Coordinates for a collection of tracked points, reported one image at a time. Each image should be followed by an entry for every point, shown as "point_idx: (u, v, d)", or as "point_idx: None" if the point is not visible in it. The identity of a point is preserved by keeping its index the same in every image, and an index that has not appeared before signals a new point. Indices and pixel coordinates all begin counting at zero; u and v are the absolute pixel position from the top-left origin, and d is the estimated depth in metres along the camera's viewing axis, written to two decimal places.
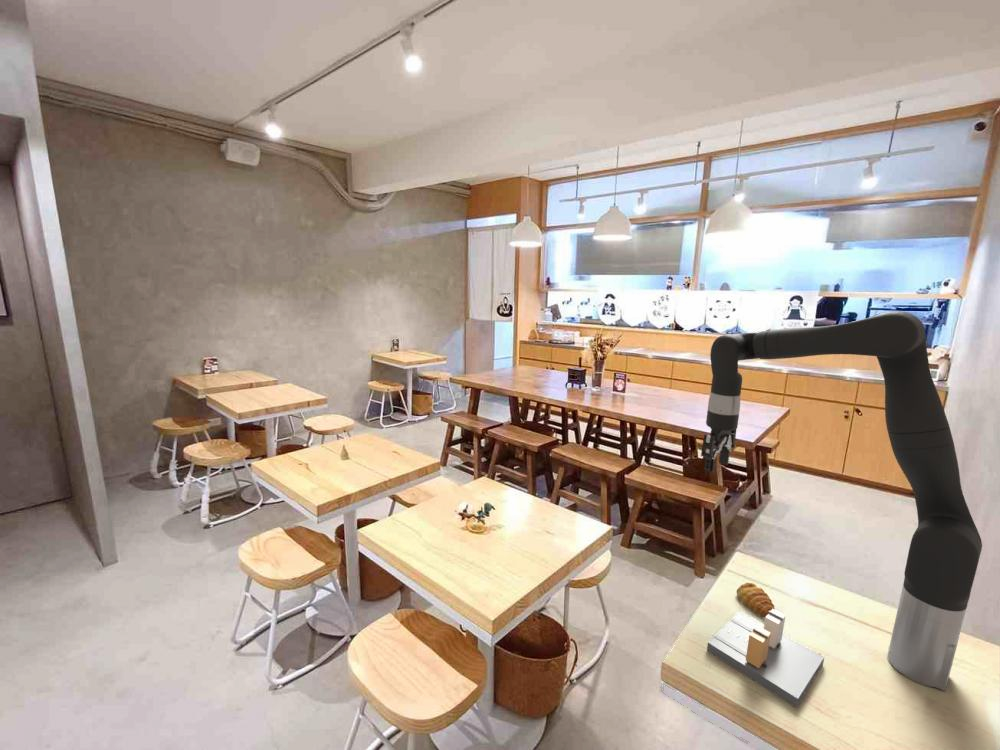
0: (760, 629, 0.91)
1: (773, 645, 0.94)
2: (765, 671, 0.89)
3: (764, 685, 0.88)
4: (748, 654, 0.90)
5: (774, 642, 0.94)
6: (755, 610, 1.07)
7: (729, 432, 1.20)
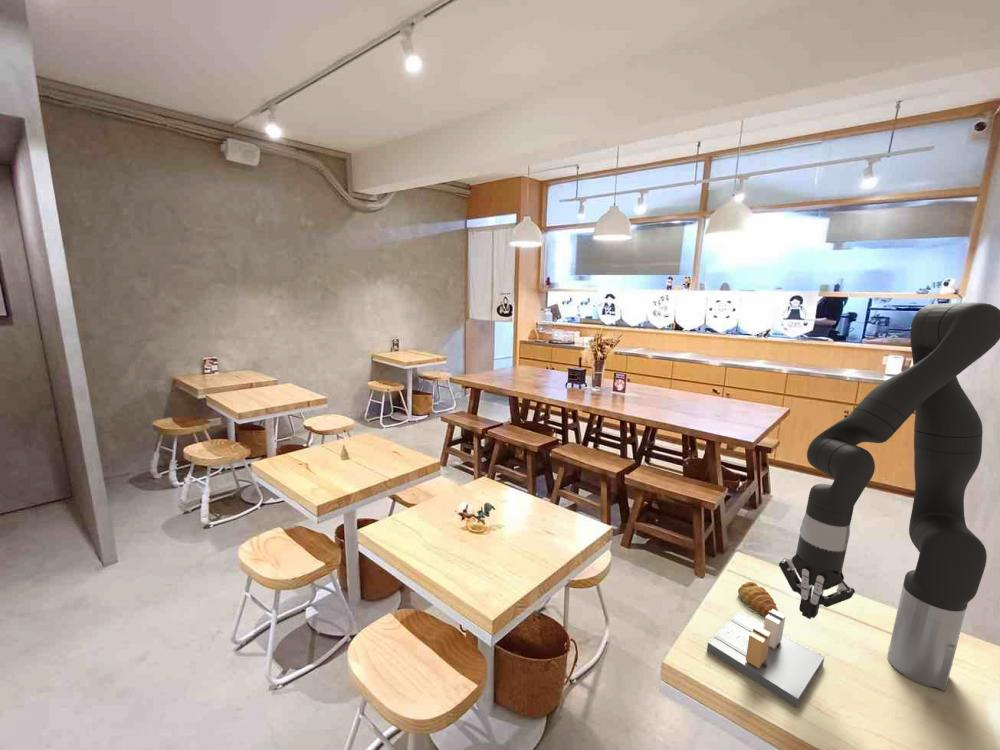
0: (760, 629, 0.91)
1: (773, 645, 0.94)
2: (765, 671, 0.89)
3: (764, 685, 0.88)
4: (748, 654, 0.90)
5: (774, 642, 0.94)
6: (758, 610, 1.08)
7: None
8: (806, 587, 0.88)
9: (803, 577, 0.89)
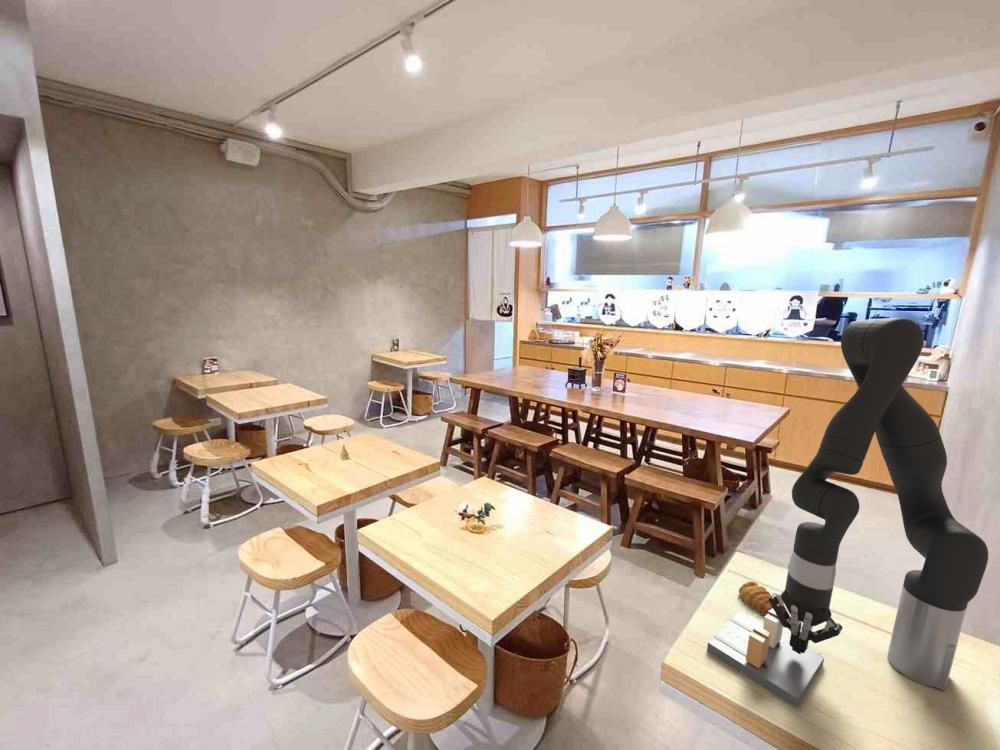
0: (760, 629, 0.91)
1: (772, 645, 0.94)
2: (765, 671, 0.89)
3: (764, 685, 0.88)
4: (748, 654, 0.90)
5: (773, 642, 0.94)
6: (759, 609, 1.08)
7: None
8: (795, 623, 0.90)
9: (792, 613, 0.91)
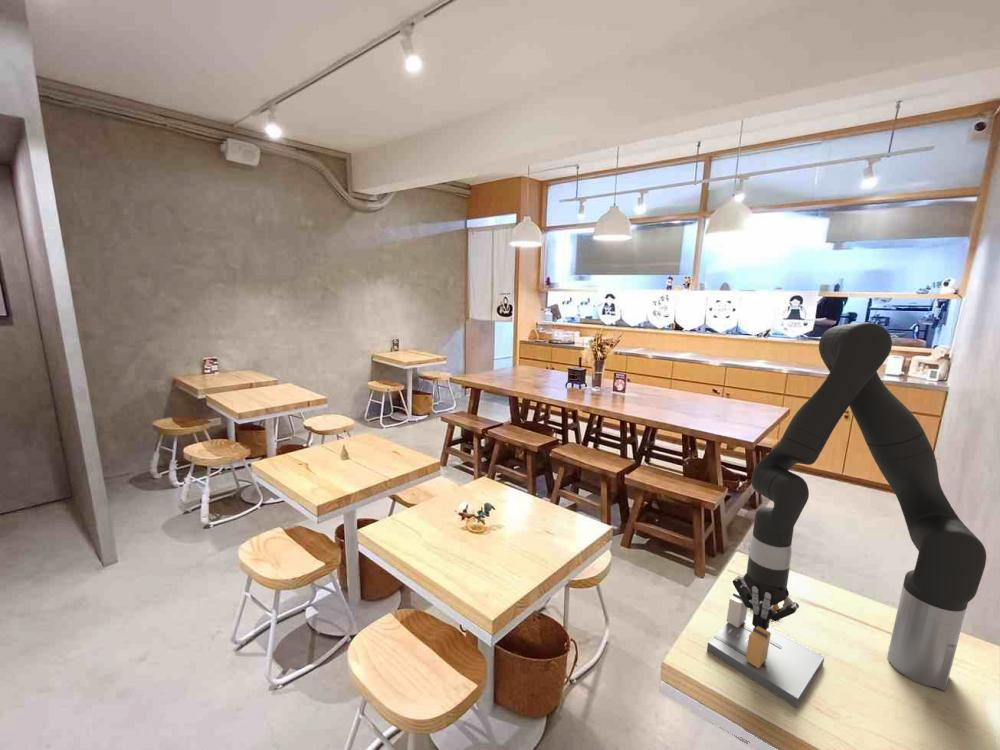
0: (760, 629, 0.91)
1: (737, 624, 1.00)
2: (765, 671, 0.89)
3: (764, 685, 0.88)
4: (748, 654, 0.90)
5: (738, 622, 1.00)
6: None
7: None
8: (756, 603, 0.96)
9: (753, 594, 0.96)
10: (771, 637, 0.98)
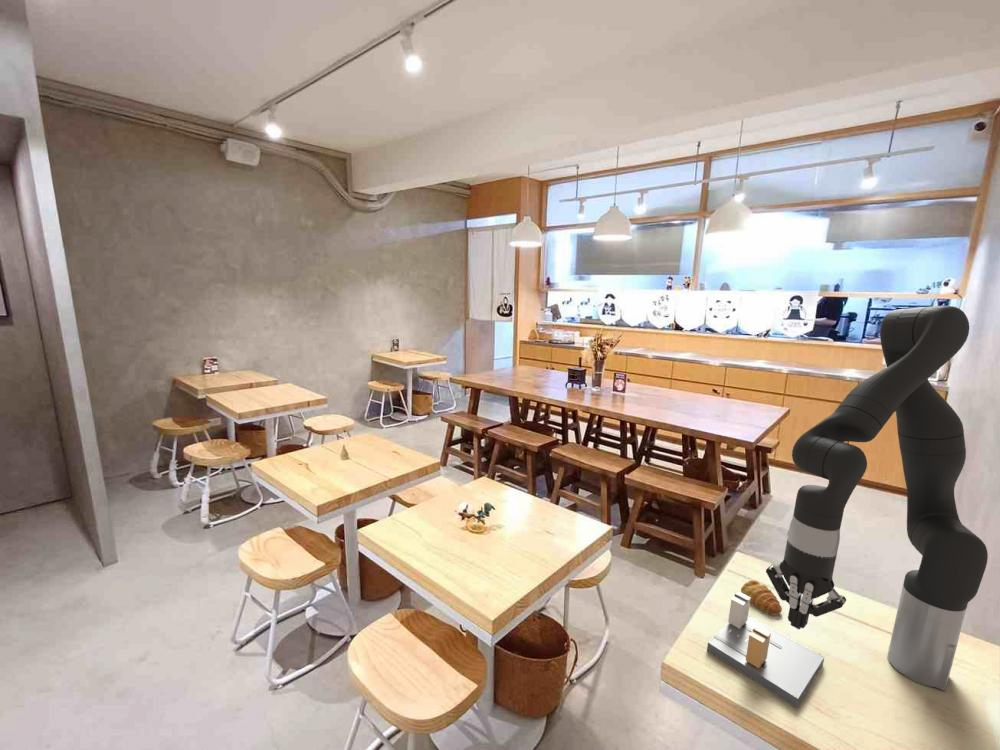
0: (760, 629, 0.91)
1: (738, 625, 0.99)
2: (765, 671, 0.89)
3: (764, 685, 0.88)
4: (748, 654, 0.90)
5: (739, 622, 0.99)
6: (762, 608, 1.08)
7: None
8: (794, 595, 0.83)
9: (791, 585, 0.83)
10: (771, 637, 0.98)
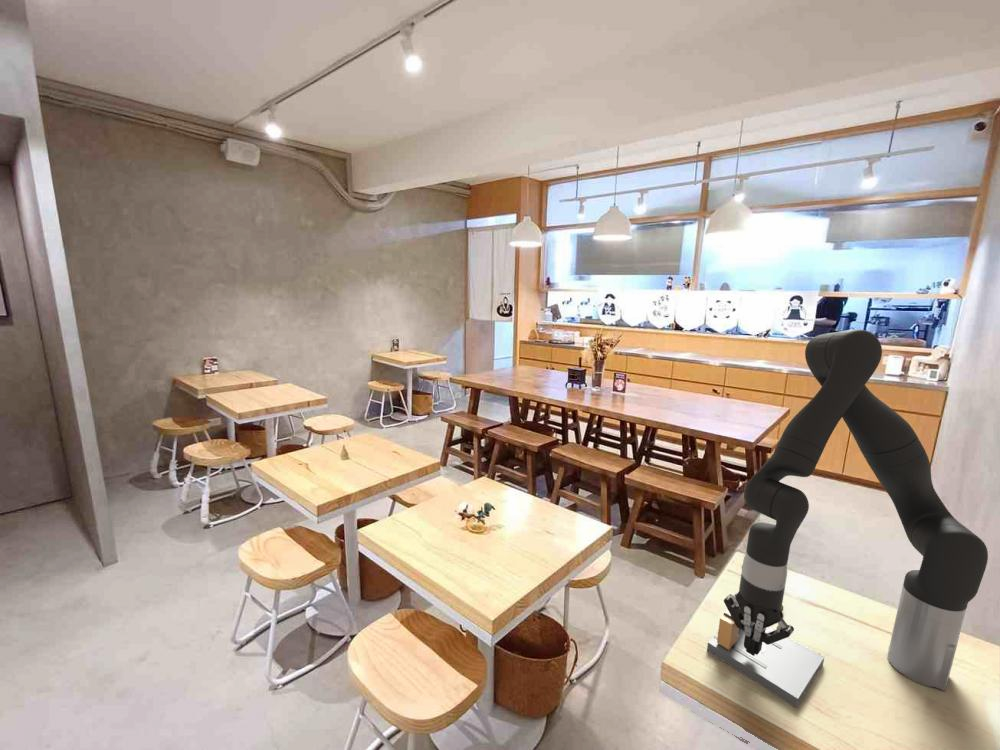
0: None
1: None
2: (765, 671, 0.89)
3: (764, 685, 0.88)
4: (719, 636, 0.95)
5: None
6: None
7: None
8: (748, 624, 0.90)
9: (745, 614, 0.90)
10: None
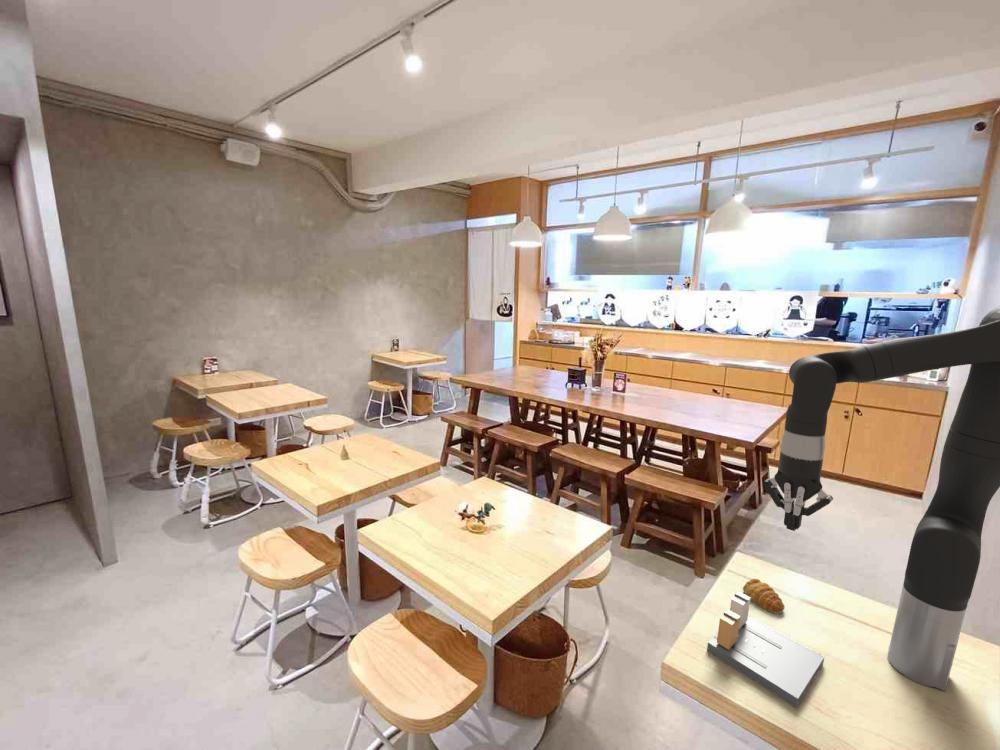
0: (730, 613, 0.96)
1: None
2: (765, 671, 0.89)
3: (764, 685, 0.88)
4: (719, 636, 0.95)
5: None
6: (766, 606, 1.09)
7: None
8: (789, 500, 0.95)
9: (785, 491, 0.95)
10: (771, 637, 0.98)
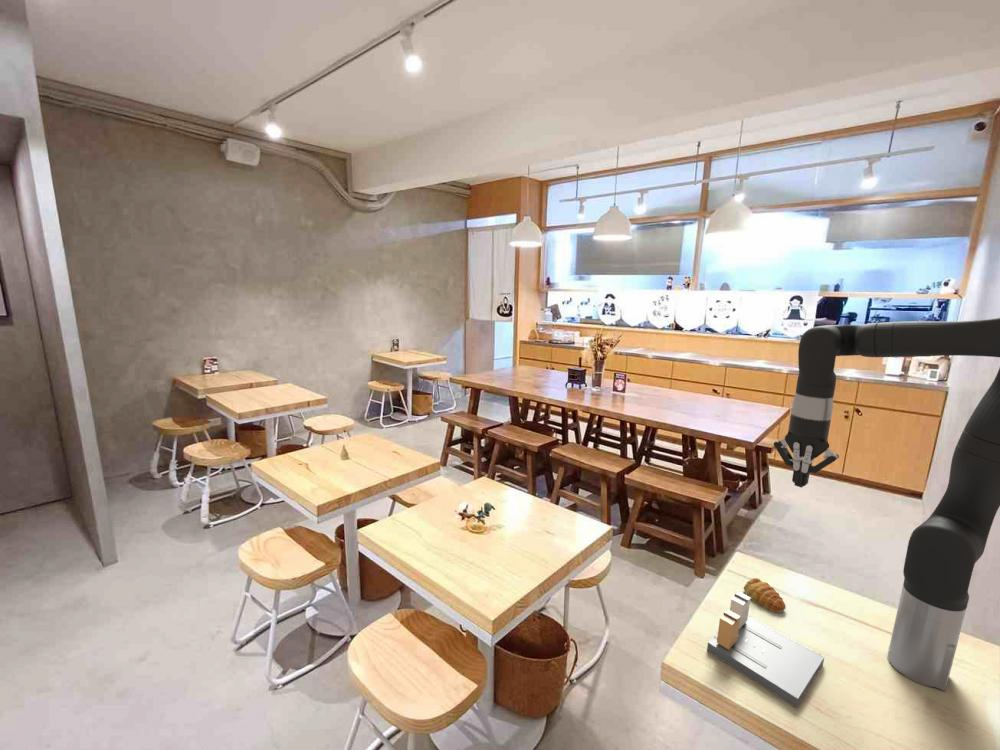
0: (730, 613, 0.96)
1: None
2: (765, 671, 0.89)
3: (764, 685, 0.88)
4: (719, 636, 0.95)
5: None
6: (767, 606, 1.09)
7: None
8: (797, 458, 1.02)
9: (794, 450, 1.03)
10: (771, 637, 0.98)
